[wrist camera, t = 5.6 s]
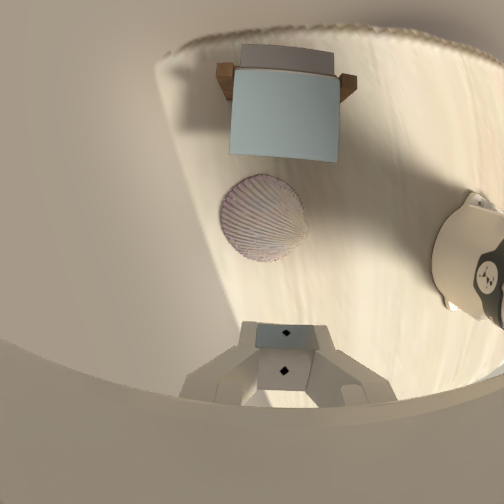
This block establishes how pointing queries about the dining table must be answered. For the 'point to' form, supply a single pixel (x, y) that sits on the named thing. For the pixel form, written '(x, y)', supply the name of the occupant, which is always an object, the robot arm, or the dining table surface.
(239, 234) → the seashell
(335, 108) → the trapdoor
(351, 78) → the frame
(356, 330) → the dining table surface
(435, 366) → the dining table surface
